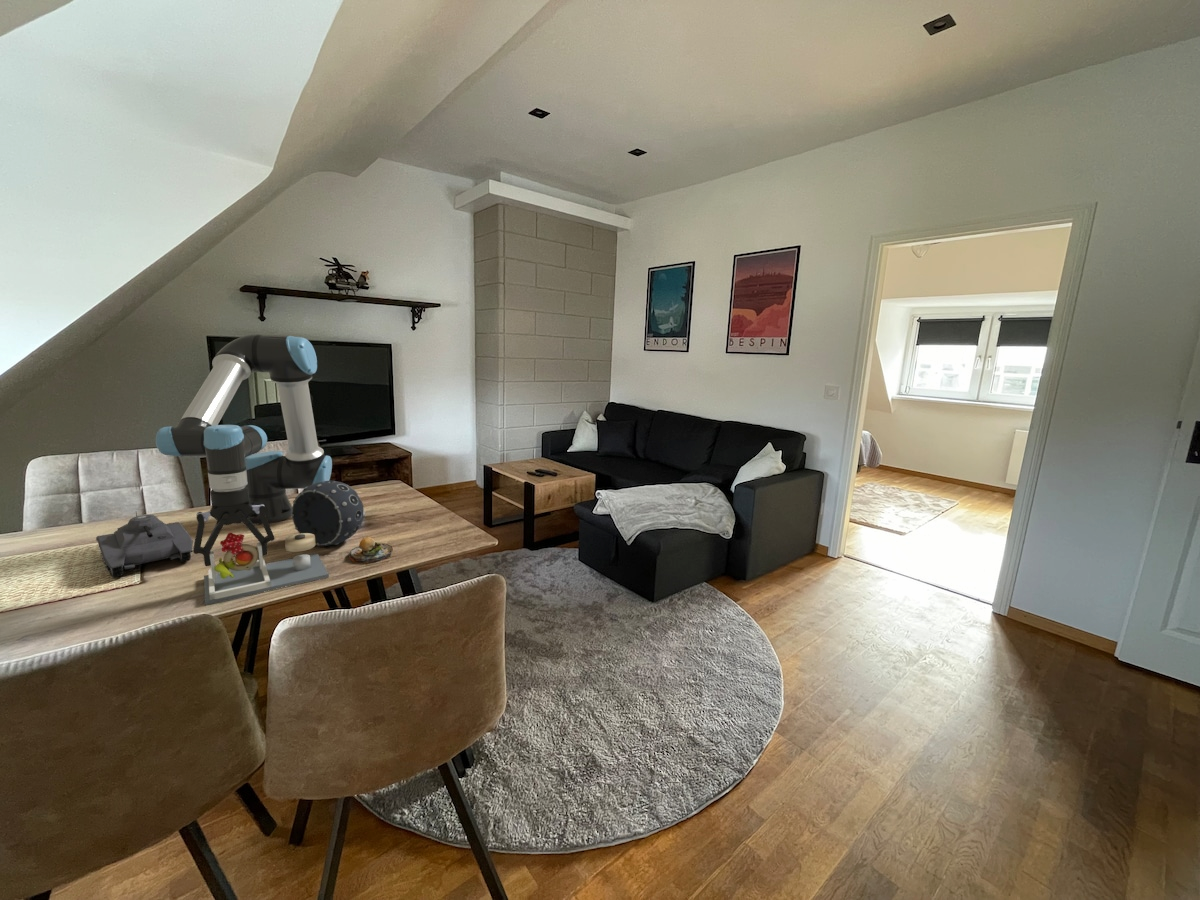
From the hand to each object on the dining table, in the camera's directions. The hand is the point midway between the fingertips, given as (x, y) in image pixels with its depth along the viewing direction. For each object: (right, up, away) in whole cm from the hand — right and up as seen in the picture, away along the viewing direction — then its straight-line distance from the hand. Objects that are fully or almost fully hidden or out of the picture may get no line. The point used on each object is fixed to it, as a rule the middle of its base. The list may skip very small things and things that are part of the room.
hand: (238, 571), depth 123 cm
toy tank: (-35, 0, +12) cm, 37 cm away
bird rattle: (0, 0, 0) cm, 1 cm away
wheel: (+11, +5, +8) cm, 14 cm away
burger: (+24, -1, +22) cm, 32 cm away
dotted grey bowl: (+8, +2, +28) cm, 30 cm away
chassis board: (+5, -3, +4) cm, 7 cm away
